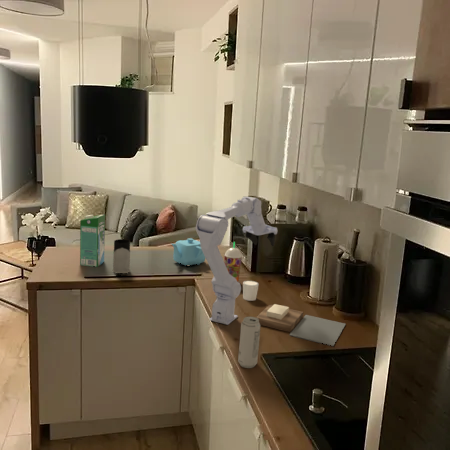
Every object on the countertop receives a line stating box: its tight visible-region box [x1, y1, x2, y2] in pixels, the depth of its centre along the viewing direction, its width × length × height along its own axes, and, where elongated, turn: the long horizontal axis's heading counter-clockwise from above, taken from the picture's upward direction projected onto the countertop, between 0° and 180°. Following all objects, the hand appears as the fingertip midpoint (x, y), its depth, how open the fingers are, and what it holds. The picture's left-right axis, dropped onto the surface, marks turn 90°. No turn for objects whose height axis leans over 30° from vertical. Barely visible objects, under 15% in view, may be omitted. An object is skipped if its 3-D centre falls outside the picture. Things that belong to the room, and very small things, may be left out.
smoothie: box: [223, 241, 243, 282], centre depth 226 cm, size 8×8×20 cm
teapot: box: [170, 237, 206, 266], centre depth 252 cm, size 18×16×14 cm
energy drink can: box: [237, 316, 262, 369], centre depth 150 cm, size 6×6×15 cm
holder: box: [111, 238, 131, 274], centre depth 235 cm, size 9×14×15 cm, turn 14°
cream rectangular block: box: [266, 303, 290, 319], centre depth 187 cm, size 9×6×2 cm, turn 155°
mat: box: [289, 314, 347, 347], centre depth 181 cm, size 22×16×1 cm
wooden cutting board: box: [255, 304, 304, 333], centre depth 187 cm, size 16×14×2 cm
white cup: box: [242, 280, 259, 302], centre depth 208 cm, size 7×7×7 cm
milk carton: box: [79, 214, 106, 268], centre depth 239 cm, size 9×9×25 cm
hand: (264, 243), depth 202 cm, fingers open, 7 cm apart
